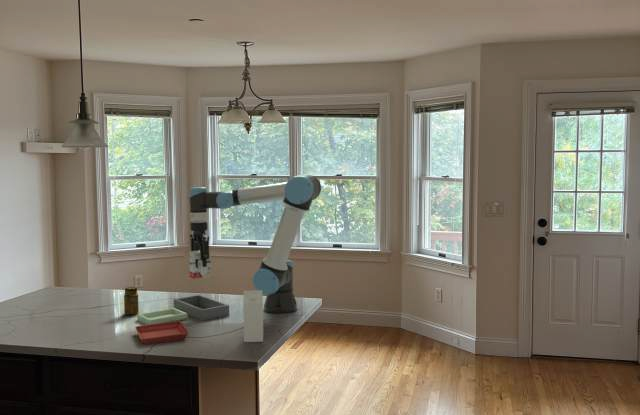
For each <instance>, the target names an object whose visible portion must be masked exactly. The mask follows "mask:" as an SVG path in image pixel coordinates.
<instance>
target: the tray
mask: <svg viewBox="0 0 640 415" xmlns="http://www.w3.org/2000/svg"><path fill="white" fill-rule="evenodd" d="M188 316H189V315H188V314H187V313H185V312H183V311H180V310H178V309H175V308H174V307H172V308H166V309H161V310H154V311H148V312H144V313H140V314H137V316H136V317H137V321H138V322H141V323H142V324H144V325H152V324H160V323H168V322H175V321H181V322H182V321H186V320H188Z"/></svg>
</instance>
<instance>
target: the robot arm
mask: <svg viewBox="0 0 640 415" xmlns="http://www.w3.org/2000/svg"><path fill="white" fill-rule="evenodd" d="M321 191H322V184H321V182H320V180H319V178H317V177H316V176H315V175H312V174H297V175H294V176H293V177H291V178H289V179H288V181H285V182H280V183H273V184H266V185H258V186H252V187H244V188H236V189H235V188H234V189H229V190H221V191H207V188H206V186H204V187H203V186H197V187H196V186H195V187H190V189H189V195H188V196H189V197H188V198H189V220H190V224H189V225H190V227H189V228H190V231H192V232H193V233H192V234H189V238H190V239H189V240H190V251H198V250H200V254H201V259H200V270H201V274H207V263H206V259H207V258H209V251H210V244H209V240H210V237H209V235H207V234H206V231H207V230H208V226H209V225H208V209H221V210H224V209H225V210H226V209H227V210H228V209H231V208H232V207H236V206H244V205H251V204H260V203H261V204H262V203H267V202H275V201H276V202H278V201H282V202H283V205H284V209H283V211H282V215H281V217H280V220H279V223H278V225H277V229H276V231H275V234H274V237H273V239H272V243H271V245H270V248H269V251H268V253H267V256H266V257H264V258H262V260H261V263H260V264H259V265H260V266H259V268H258V270H256V272H255V273H254V274H253V276H252V284H253V287H254V288H255V291H257V290H262V294H263V295H264V296H266V298H265V301H264V302H263V311H264V312H267V313H273V314H285V313H286V314H287V313H292V312H295V311H297V310H298V304H297V300H296V296H295V294H294V283H293V282H294V277H293V276H294V266H293V261H292V260H291V259H289V255H290V252H291V250H292V247H293V244H294V242H295V240H296V236H297V234H298V230H299V229H300V228H299V227H300V225H301V222H302V220H303V217H304V214H305V213H307V212H308V211H309V210H310V208H311V205H312V203H313V201H314V200H316V199H317V198H318V197H319V196H320V195H321V193H322V192H321Z"/></svg>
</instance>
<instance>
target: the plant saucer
mask: <svg viewBox="0 0 640 415" xmlns="http://www.w3.org/2000/svg"><path fill="white" fill-rule="evenodd" d="M134 328H135V330H136V332H137V334H138V337H139V339H140V340H141V342H142V343H143V344H144V345H149V344H150V345H151V344H159V343H164V342H174V341H180V340H184V339H185V338H186V337H187V336H188V335H189V333H190V332H189V331H188V329H187V328H186V327H185V325H184V324H183V322H182V320H181V321H176V322H168V323H160V324H152V325H146V324H144V325H138V326H135V327H134Z"/></svg>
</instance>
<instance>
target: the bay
mask: <svg viewBox="0 0 640 415" xmlns="http://www.w3.org/2000/svg"><path fill="white" fill-rule="evenodd" d="M194 305H195V306H194ZM198 306H201V307H204V308H200V307H198ZM173 308H175V309H178V310H180V311H183V312H185V313H187V316H191V317H193V318H195V319H198V320H200V321H207V320H211V319H212V320H213V319H217V318H222V317H227V316H230V304H227V303H224V302H223V301H218V300H215V299H212V298H211V297H208V296H205V295H202V294H197V295H190V296H185V297H179V298H174V299H173Z"/></svg>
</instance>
